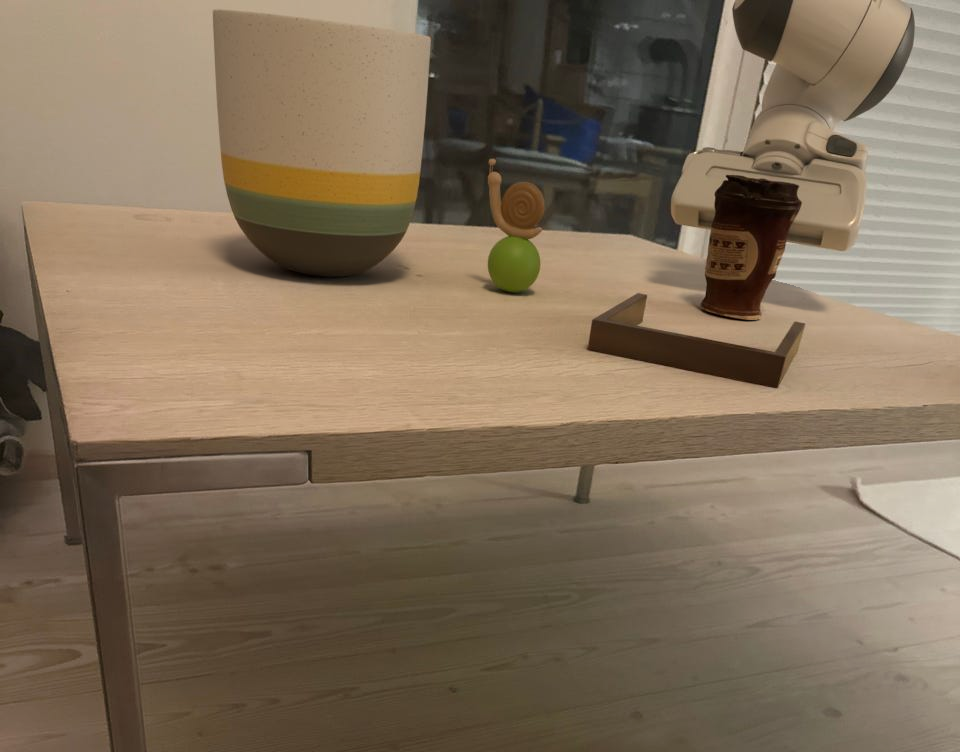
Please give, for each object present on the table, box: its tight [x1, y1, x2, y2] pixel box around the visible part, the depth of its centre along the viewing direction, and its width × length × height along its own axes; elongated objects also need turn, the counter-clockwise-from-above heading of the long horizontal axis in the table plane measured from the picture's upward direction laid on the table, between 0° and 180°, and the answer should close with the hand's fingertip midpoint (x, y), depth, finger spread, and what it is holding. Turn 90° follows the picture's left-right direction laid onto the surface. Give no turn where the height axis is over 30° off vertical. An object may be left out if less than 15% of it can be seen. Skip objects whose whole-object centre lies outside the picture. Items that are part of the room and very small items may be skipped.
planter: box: [212, 8, 432, 278], centre depth 89 cm, size 20×20×21 cm
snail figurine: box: [487, 158, 546, 293], centre depth 93 cm, size 5×6×12 cm
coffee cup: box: [700, 175, 802, 321], centre depth 95 cm, size 9×8×13 cm
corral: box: [587, 292, 806, 389], centre depth 81 cm, size 16×16×2 cm
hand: (746, 264), depth 99 cm, fingers closed, pressing on coffee cup
